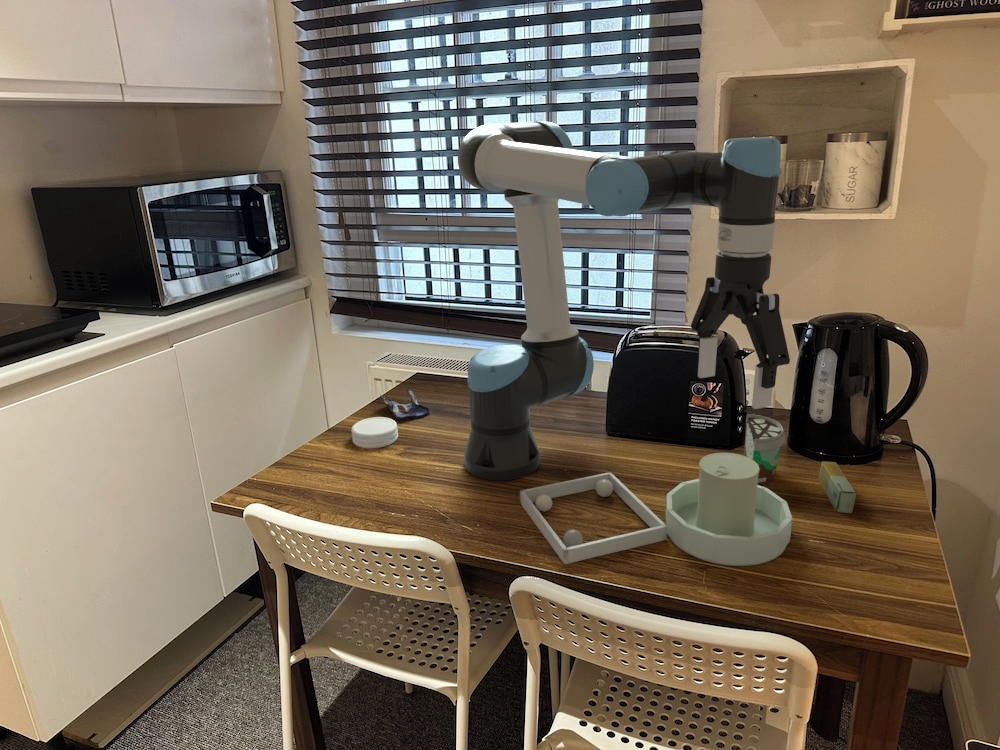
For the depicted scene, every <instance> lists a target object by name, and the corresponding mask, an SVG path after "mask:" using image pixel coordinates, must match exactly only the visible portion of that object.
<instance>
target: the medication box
mask: <svg viewBox="0 0 1000 750" xmlns="http://www.w3.org/2000/svg"><path fill="white" fill-rule="evenodd" d="M819 480H820V481H819ZM818 481H819V483H820V482H821V483H820V484H822V485H821V486H822V489H823V490H824V492H825V494H826V493H827V494H826V495H827V498H828V499H829V501H830V503H831V505H832V507H833V508H834V510H835V512H837V513H841V514H852V513H853V510H854V506H855V501H856V496H857V493H856V491H855V490H854V488H853V487H852V486H853V485H852V484H851V483H850V482H849V480H848V478H847V477H846V476H845V474H844V472H843V470H841V468H840V467H839V465H838V463H837V462H835V461H824V460H823V461H821V465H820V469H819V475H818Z"/></svg>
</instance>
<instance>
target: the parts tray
mask: <svg viewBox="0 0 1000 750" xmlns="http://www.w3.org/2000/svg"><path fill="white" fill-rule="evenodd" d="M602 479H607V480H609V481H610V482H611V483H612V485H613V492H614V493H616V495H617V496H618V497H619V498H620V499H622V501H623V502H624V503H625V504H626V505H627V506H628V507H629V508H630V509H631V510H632V511H633V512H634V513H635V514H636V515H638V517H639V518H640V519H641V520H643V522H644V523H646V524H647V526H648V527H649V528H644V529H640V530H636V531H632V532H627V533H624V534H620V535H619V534H618V535H614V536H610V537H606V538H602V539H598V540H593V541H590V542H585V543H584V542H583V543H582V544H580V545H576V546H572V547H566V546H565V545H564V543H563V540H561V538H560V536H558V534H557V533H556V532H555V531H554V529H553V528H552V527H551V525H550V524H549V522H548V521H547V520H546V518H544V516H543V515H542V513H541V511H540V510H538V509H537V507H536V505H535V501H536V498H537V497H538V496H539V495H542V494H545V495H548V496H549V497H550V498H551V499H553V498H558V497H563V496H568V495H572V494H577V493H583V492H587V491H591V490H592V491H593V490H596V489H595V487H596V484H597V482H598V481H599V480H602ZM519 503H520V506H522V508H523V509H524V511H525V512H526V514H527V515H528V516H529V517H530V519H531V520H532V521H533V523H534V524H535V526H536V527H537V528H538V530H539V531H540V532H541V534H542V536H544V538H545V540H546V541H547V542H548V543H549V545H550V547H552V549H553V550H554V552H555V553H556V555H557V556H558V557H559V559H560V560H561V562H562V563H563V564H564V565H568V564H572V563H576V562H579V561H580V562H581V561H583V560H584V561H586V560H588V559H592V558H596V557H597V558H598V557H601V556H605V555H610V554H614V553H618V552H620V551H621V552H622V551H625V550H630V549H634V548H635V549H636V548H638V547H641V546H642V547H643V546H646V545H651V544H655V543H659V542H662V541H666V540H668V534H667V525H666V523H665V522H664V521H663V520H662V519H660V517H658V516H657V515H656V514H655V513H654V512H653V511H652V510H651V509H650V508H649V507H648V506H647V505H646V504H645V503H644V502H642V500H641V499H640V498H638V497H637V495H635V494H634V493H633V492H632V490H630V489H629V488H628V487H627V486H626V485H625V484H624V483H623V482H621V481H620V479H618V478H617V477H616V476H615V475H614V474H613V472H611V471H609V472H605V473H604V472H603V473H599V474H594V475H590V476H584V477H580V478H575V479H571V480H565V481H561V482H555V483H551V484H545V485H541V486H535V487H532V488H527V489H521V490H519Z"/></svg>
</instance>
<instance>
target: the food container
mask: <svg viewBox="0 0 1000 750" xmlns="http://www.w3.org/2000/svg"><path fill="white" fill-rule="evenodd" d="M744 438H745V439H744V452H743V456H746V457H748V458H750V459H752V460H753V461H755V462H756V463H757V464H758V466H759V469H760V471H759V475H758V484H757V485H759V486H761V485H763V486H766V485H769V484H771V483H772V482H774V480H775V478H774V477H775V476H776V472H777V466H778V461H779V460H778V459H779V456H780V451H781V447H782V446H783V445H785V442H786V432H785V430H784V428H783V426H782V424H781V423H780V422H779V421H777V420H776V419H772V418H771V417H767V416H763V415H759V414H753V413H747V414H746V419H745V437H744Z"/></svg>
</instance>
